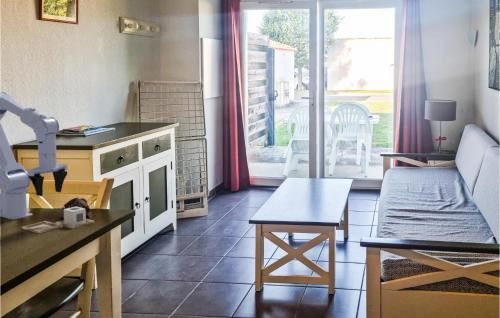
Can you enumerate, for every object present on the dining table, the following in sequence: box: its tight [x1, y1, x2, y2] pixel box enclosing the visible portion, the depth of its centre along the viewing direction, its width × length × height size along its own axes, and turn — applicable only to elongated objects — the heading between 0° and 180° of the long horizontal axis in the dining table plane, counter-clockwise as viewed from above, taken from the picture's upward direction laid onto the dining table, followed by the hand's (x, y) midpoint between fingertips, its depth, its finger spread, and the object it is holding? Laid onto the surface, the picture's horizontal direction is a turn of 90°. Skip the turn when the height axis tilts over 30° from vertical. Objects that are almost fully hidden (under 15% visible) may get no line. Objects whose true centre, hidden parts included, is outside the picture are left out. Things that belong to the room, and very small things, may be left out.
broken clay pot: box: [60, 196, 93, 220], centre depth 220 cm, size 12×10×8 cm
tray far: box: [54, 218, 95, 230], centre depth 211 cm, size 9×9×1 cm
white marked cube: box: [63, 207, 87, 226], centre depth 210 cm, size 5×5×5 cm
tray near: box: [21, 220, 63, 234], centre depth 205 cm, size 9×9×1 cm
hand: (49, 193), depth 212 cm, fingers open, 7 cm apart
